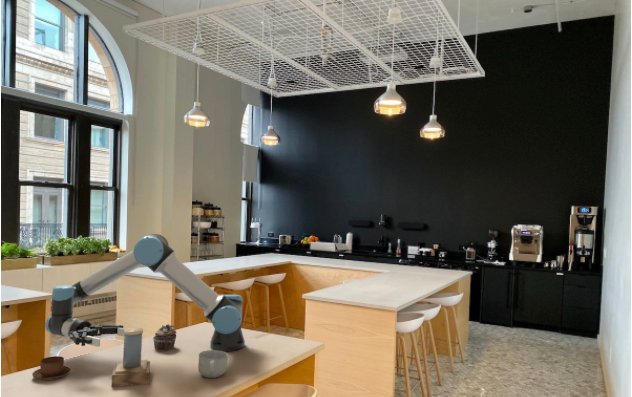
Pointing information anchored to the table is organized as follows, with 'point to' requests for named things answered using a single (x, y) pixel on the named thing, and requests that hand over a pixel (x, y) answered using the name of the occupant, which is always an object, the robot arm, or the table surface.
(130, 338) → the canister
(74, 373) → the table surface
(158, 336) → the cupcake
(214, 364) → the teacup
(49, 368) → the cup and saucer
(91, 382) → the table surface
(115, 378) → the pedestal
